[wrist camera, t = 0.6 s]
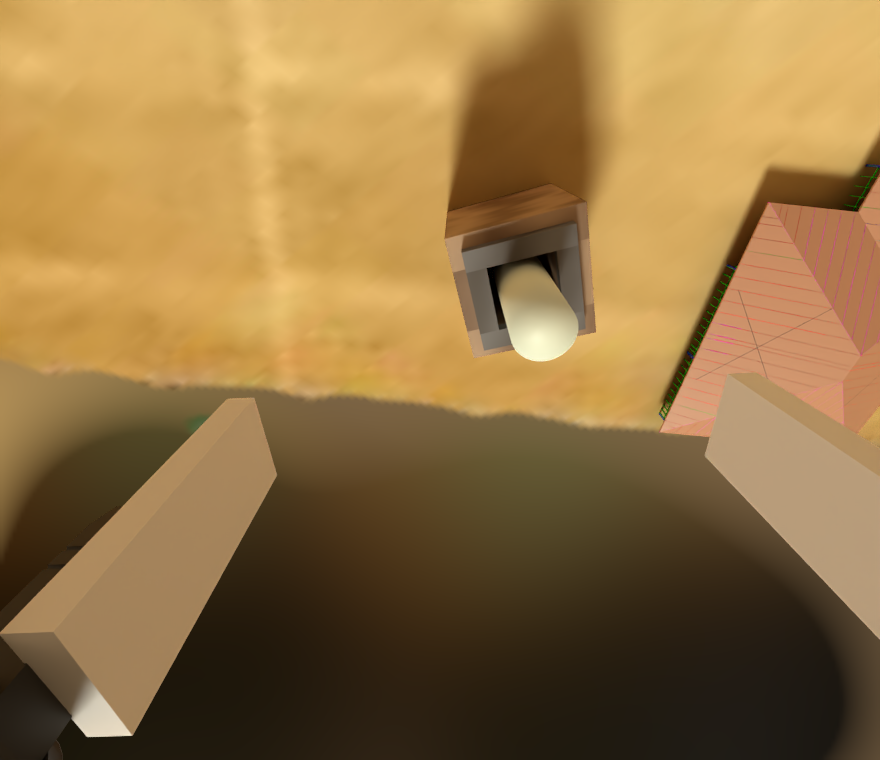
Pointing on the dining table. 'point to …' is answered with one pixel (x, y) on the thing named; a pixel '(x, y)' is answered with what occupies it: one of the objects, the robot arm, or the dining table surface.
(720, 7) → the dining table surface
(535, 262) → the peg
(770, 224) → the house
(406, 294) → the dining table surface
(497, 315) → the socket block
